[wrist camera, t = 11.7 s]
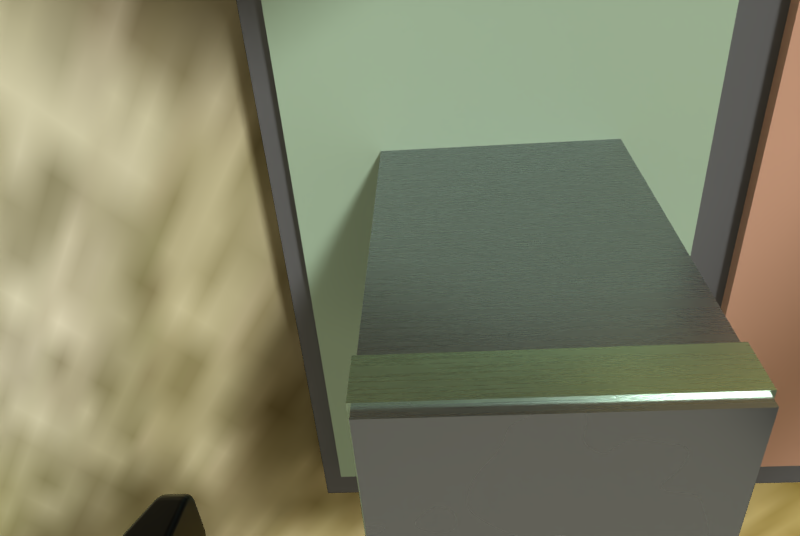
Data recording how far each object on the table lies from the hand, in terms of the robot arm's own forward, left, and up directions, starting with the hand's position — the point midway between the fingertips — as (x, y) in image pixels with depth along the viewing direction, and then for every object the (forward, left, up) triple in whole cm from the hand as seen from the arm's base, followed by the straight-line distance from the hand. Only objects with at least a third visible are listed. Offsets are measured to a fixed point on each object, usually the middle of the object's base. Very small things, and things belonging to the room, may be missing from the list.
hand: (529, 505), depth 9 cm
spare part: (0, 0, -6) cm, 6 cm away
